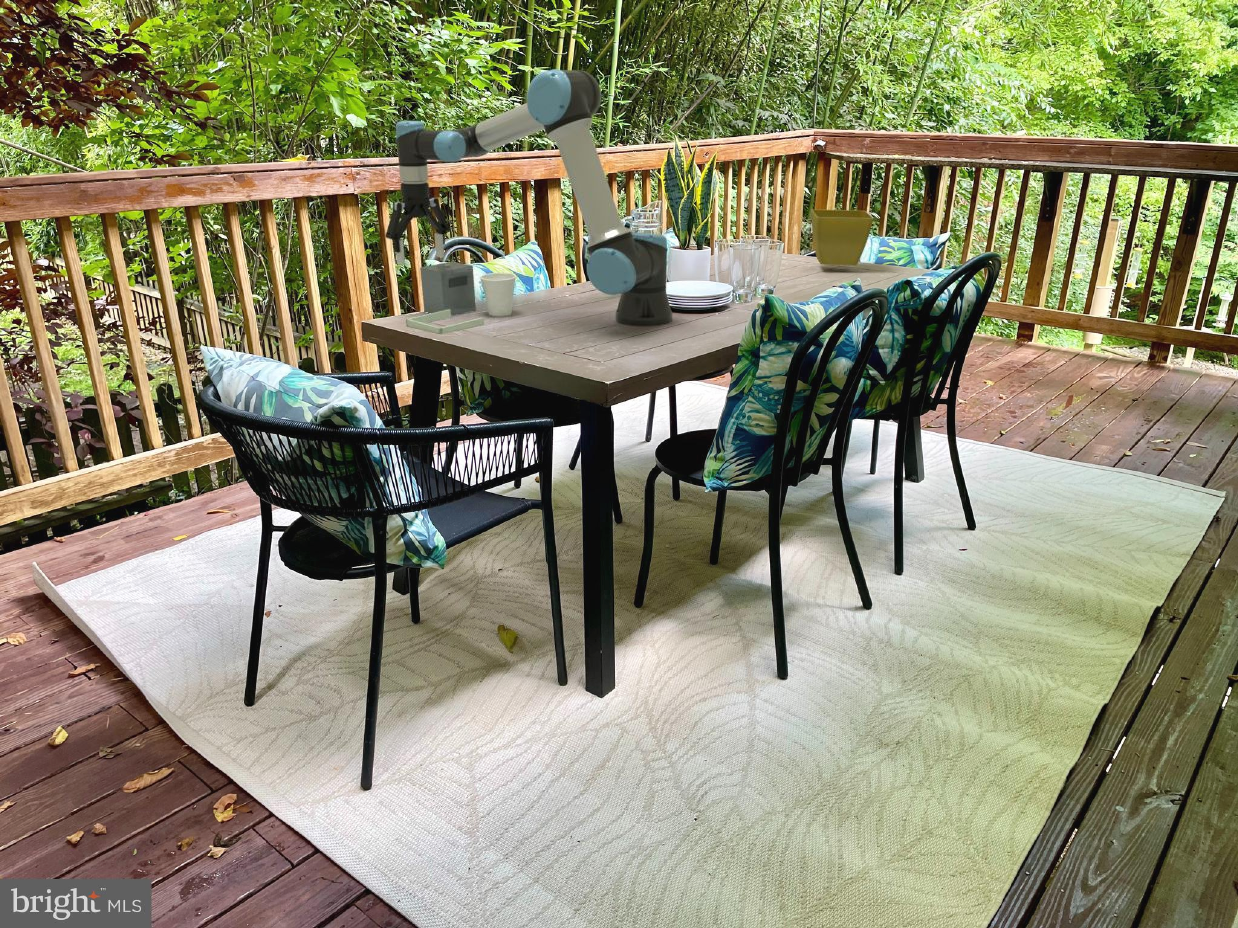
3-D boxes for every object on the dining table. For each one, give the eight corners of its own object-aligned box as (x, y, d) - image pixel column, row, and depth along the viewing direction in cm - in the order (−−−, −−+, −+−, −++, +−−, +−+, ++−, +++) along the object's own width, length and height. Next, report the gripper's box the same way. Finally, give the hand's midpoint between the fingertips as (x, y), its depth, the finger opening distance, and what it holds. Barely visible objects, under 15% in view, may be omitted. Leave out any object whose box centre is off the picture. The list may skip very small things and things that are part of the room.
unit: (476, 312, 250) (473, 263, 245) (445, 319, 243) (441, 269, 237) (454, 307, 256) (451, 259, 251) (423, 314, 249) (419, 265, 243)
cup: (515, 320, 242) (513, 280, 237) (479, 320, 242) (476, 280, 237) (520, 311, 251) (518, 272, 246) (485, 311, 251) (482, 272, 247)
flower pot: (860, 257, 323) (865, 209, 316) (868, 268, 305) (874, 217, 299) (807, 256, 325) (810, 209, 318) (812, 267, 307) (816, 217, 300)
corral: (484, 329, 234) (483, 317, 233) (441, 340, 224) (440, 328, 223) (449, 320, 242) (449, 309, 241) (407, 330, 233) (405, 319, 231)
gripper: (442, 177, 253) (447, 252, 262) (367, 184, 236) (375, 265, 245) (459, 179, 249) (464, 256, 257) (384, 187, 231) (391, 269, 240)
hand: (421, 260), depth 251 cm, fingers open, 13 cm apart
